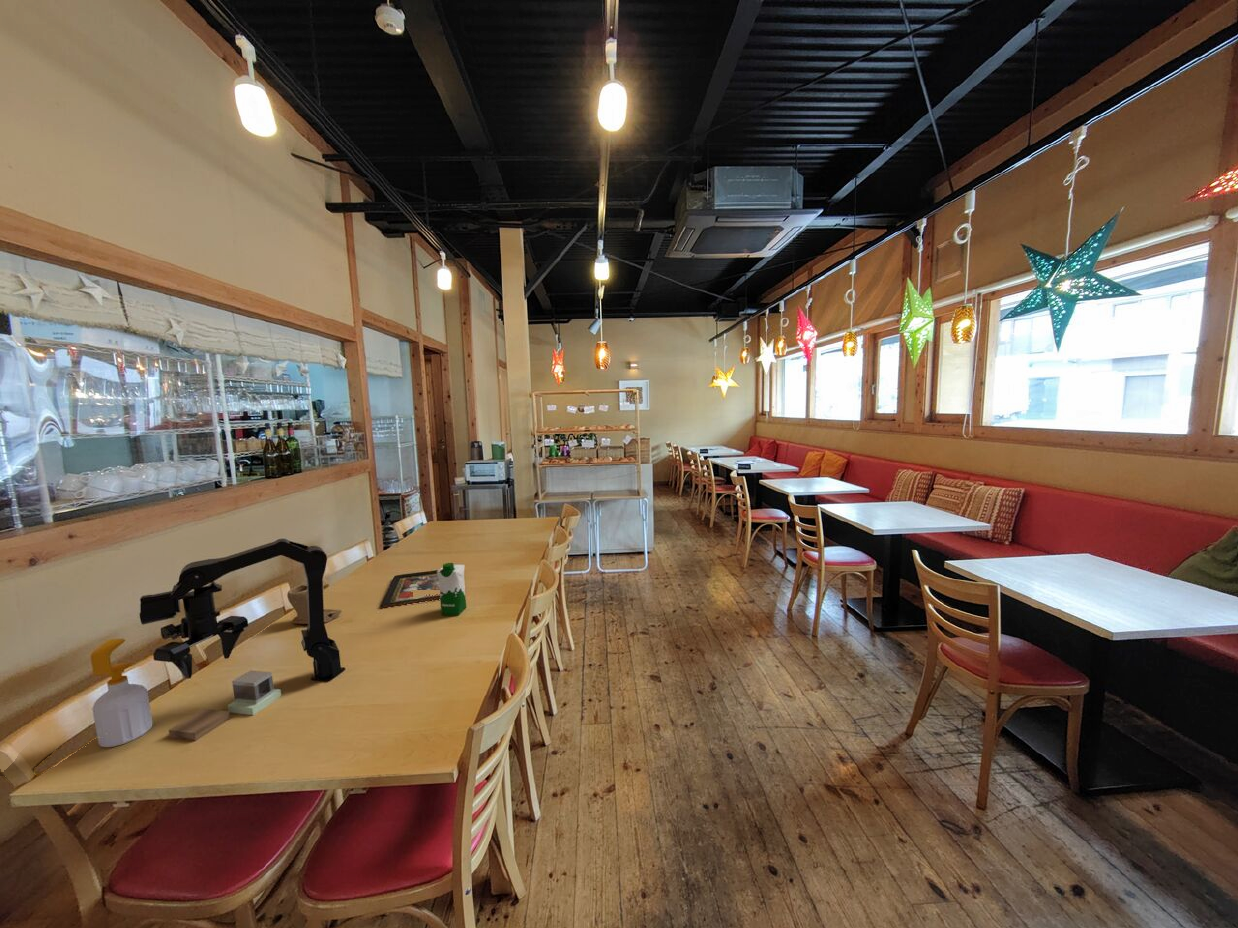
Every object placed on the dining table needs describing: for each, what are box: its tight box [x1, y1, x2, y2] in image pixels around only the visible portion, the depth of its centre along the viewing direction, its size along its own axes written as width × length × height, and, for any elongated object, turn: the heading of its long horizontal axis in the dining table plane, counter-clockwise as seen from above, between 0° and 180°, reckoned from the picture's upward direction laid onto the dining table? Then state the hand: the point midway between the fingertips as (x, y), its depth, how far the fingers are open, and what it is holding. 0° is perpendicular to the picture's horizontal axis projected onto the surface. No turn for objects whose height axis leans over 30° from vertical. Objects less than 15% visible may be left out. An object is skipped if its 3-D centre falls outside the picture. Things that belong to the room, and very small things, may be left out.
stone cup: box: [286, 582, 343, 625], centre depth 170 cm, size 15×12×15 cm
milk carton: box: [437, 562, 467, 617], centre depth 175 cm, size 9×9×20 cm
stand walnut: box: [168, 708, 231, 742], centre depth 113 cm, size 8×8×2 cm
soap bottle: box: [90, 638, 153, 748], centre depth 110 cm, size 9×9×25 cm
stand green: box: [227, 688, 282, 716], centre depth 122 cm, size 8×8×2 cm
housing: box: [231, 669, 275, 704], centre depth 121 cm, size 7×5×6 cm
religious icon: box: [380, 569, 440, 610], centre depth 201 cm, size 38×35×3 cm
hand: (208, 667), depth 117 cm, fingers open, 9 cm apart
